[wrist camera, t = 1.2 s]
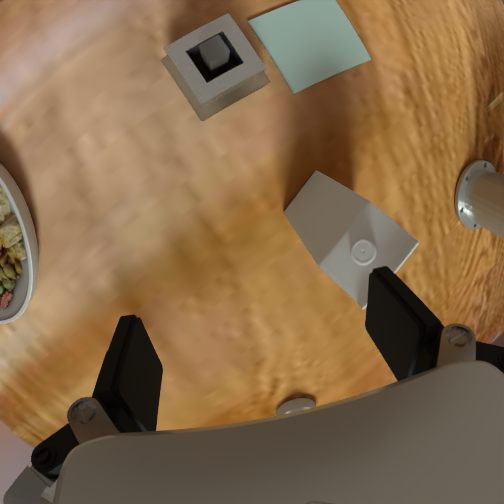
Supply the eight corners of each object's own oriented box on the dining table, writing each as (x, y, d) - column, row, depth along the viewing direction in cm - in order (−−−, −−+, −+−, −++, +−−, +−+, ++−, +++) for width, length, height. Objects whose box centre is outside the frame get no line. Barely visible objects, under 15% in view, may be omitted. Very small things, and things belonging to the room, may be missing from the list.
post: (227, 35, 28) (235, -14, 15) (261, 87, 32) (291, 67, 18) (169, 69, 29) (138, 38, 16) (203, 120, 33) (194, 121, 19)
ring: (226, 32, 24) (228, 12, 18) (256, 78, 26) (266, 68, 21) (173, 61, 24) (163, 48, 19) (204, 107, 27) (201, 104, 21)
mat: (327, -8, 26) (329, -9, 26) (369, 60, 31) (371, 59, 30) (247, 22, 28) (247, 20, 27) (293, 93, 32) (294, 93, 32)
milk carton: (353, 200, 39) (438, 263, 22) (321, 240, 41) (386, 324, 24) (315, 169, 37) (394, 216, 20) (282, 212, 39) (333, 291, 22)
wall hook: (291, 460, 52) (278, 443, 48) (284, 426, 60) (271, 406, 56) (330, 447, 51) (322, 429, 47) (319, 414, 60) (310, 393, 56)
